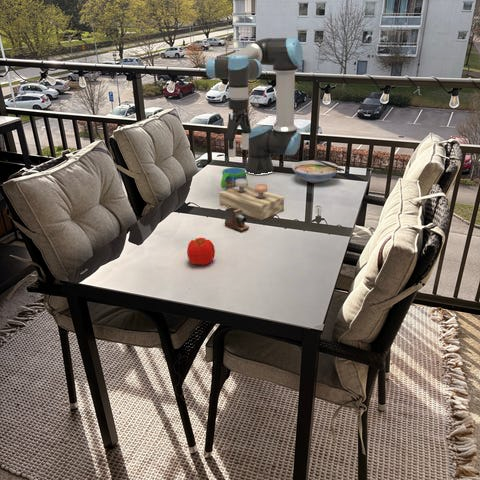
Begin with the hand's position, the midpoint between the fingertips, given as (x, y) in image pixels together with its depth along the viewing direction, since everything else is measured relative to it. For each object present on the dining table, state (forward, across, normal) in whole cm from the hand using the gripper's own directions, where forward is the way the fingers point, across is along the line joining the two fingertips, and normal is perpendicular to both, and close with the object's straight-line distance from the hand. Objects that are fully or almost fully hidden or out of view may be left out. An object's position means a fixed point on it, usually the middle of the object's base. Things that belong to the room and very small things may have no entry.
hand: (238, 153), depth 186 cm
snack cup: (+24, -18, -10) cm, 32 cm away
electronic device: (+24, +20, +7) cm, 32 cm away
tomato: (+24, +50, +7) cm, 56 cm away
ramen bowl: (+23, -47, +20) cm, 56 cm away
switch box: (+24, -2, +5) cm, 24 cm away
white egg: (+19, -4, 0) cm, 19 cm away
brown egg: (+19, 0, +10) cm, 21 cm away
